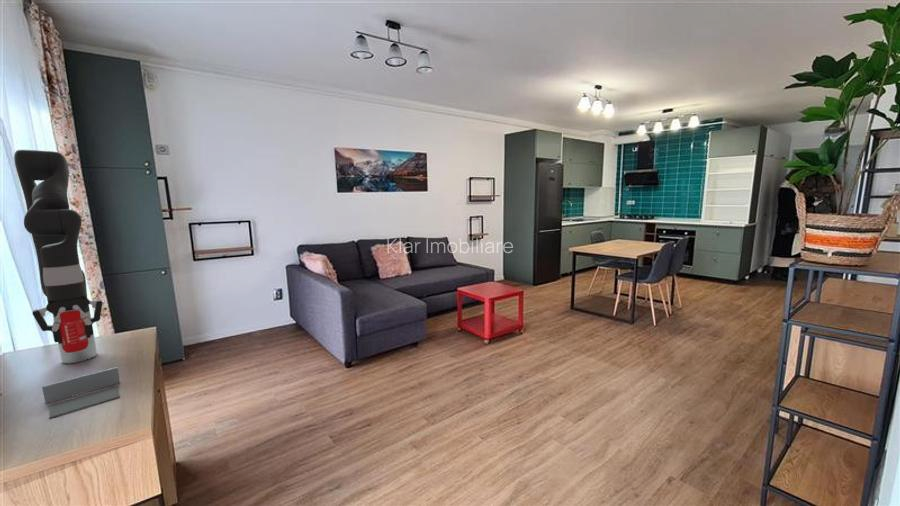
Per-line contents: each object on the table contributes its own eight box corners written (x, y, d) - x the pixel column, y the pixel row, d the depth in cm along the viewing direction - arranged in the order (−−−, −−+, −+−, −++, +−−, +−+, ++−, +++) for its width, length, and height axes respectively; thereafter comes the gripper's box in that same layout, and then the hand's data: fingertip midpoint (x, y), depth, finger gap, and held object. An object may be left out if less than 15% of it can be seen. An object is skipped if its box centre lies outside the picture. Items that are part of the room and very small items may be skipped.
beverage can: (72, 353, 101) (64, 312, 99) (58, 352, 102) (50, 311, 100) (94, 346, 106) (87, 306, 104) (80, 345, 107) (73, 306, 105)
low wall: (45, 402, 105) (42, 385, 104) (119, 381, 116) (117, 366, 116) (45, 403, 104) (42, 387, 103) (119, 382, 116) (117, 367, 115)
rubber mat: (50, 405, 103) (50, 404, 103) (116, 386, 113) (116, 385, 113) (49, 418, 97) (49, 417, 97) (120, 397, 107) (119, 396, 107)
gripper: (99, 275, 109) (108, 330, 111) (26, 284, 98) (37, 344, 101) (101, 278, 104) (110, 336, 106) (24, 288, 93) (36, 351, 96)
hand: (74, 339), depth 103 cm, fingers closed on beverage can, 5 cm apart
